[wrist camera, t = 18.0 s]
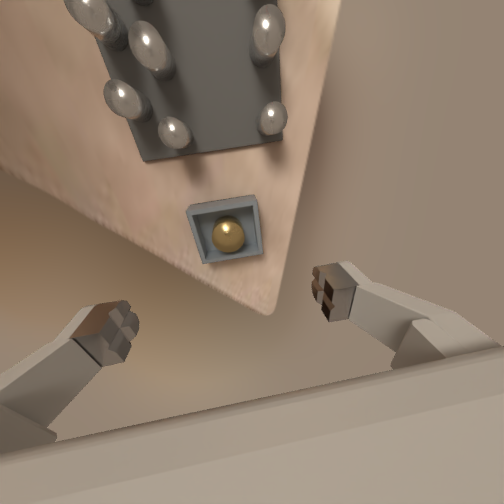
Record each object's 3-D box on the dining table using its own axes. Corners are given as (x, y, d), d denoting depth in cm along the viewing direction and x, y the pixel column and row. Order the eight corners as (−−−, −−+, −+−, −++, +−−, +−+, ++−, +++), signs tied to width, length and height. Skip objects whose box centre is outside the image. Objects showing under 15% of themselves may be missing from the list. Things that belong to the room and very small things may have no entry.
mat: (144, 161, 22) (143, 161, 22) (56, -67, 14) (52, -72, 14) (281, 140, 23) (282, 140, 23) (272, -91, 15) (273, -97, 15)
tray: (204, 253, 30) (202, 264, 27) (189, 204, 26) (185, 211, 23) (260, 244, 30) (263, 253, 27) (254, 194, 26) (256, 200, 23)
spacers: (144, 154, 22) (128, 156, 18) (72, -36, 15) (25, -90, 11) (278, 134, 22) (288, 131, 19) (269, -59, 15) (281, -118, 12)
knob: (218, 246, 29) (218, 256, 26) (208, 220, 26) (206, 228, 24) (246, 238, 29) (248, 247, 26) (238, 211, 26) (239, 218, 24)
